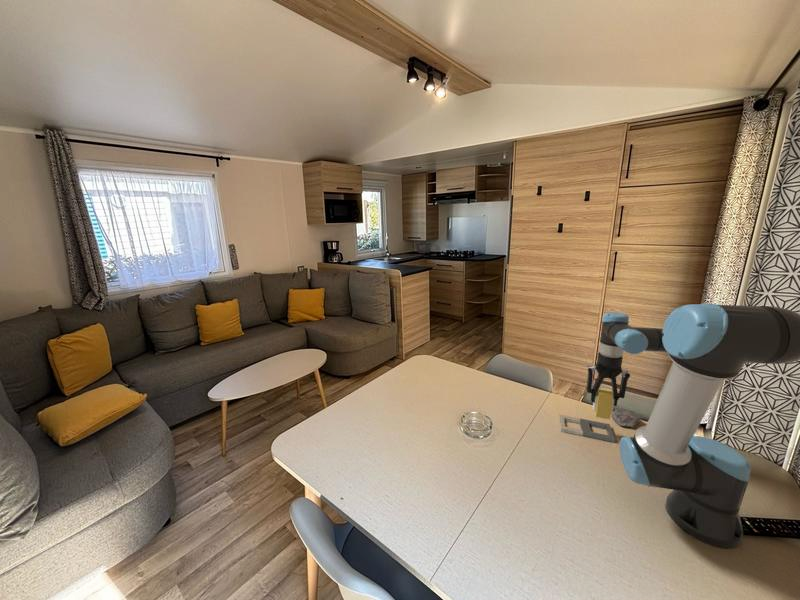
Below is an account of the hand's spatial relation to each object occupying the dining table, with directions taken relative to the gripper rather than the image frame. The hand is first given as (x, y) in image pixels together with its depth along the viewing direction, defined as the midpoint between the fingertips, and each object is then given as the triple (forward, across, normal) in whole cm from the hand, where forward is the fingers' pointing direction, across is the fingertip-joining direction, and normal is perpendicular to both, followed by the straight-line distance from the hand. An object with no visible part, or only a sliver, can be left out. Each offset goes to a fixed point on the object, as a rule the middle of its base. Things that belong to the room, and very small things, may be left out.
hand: (602, 410), depth 119 cm
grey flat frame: (+9, +5, -1) cm, 11 cm away
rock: (+10, -12, -12) cm, 20 cm away
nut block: (+2, 0, 0) cm, 2 cm away
